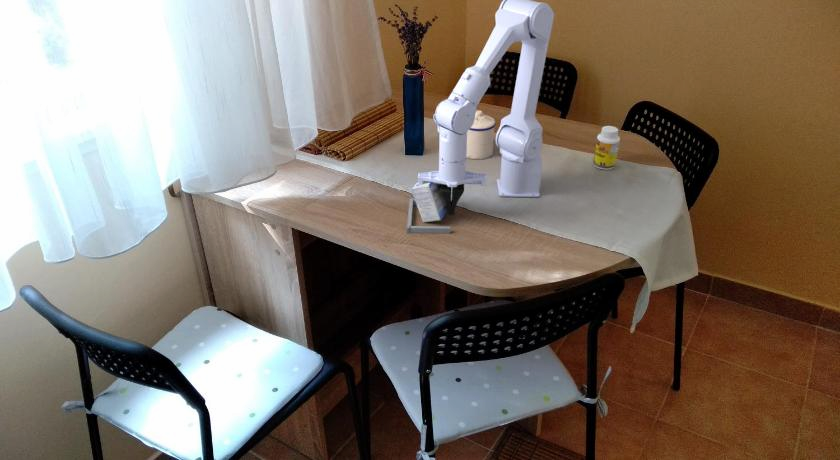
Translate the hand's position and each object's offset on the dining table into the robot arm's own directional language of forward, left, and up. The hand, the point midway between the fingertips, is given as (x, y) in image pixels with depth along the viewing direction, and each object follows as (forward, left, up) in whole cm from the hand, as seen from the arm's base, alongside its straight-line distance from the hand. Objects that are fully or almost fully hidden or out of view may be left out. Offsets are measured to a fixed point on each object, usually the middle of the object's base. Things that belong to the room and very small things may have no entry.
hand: (451, 212), depth 140 cm
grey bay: (+5, 0, -1) cm, 5 cm away
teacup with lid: (-6, -35, -2) cm, 35 cm away
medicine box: (+3, -1, -1) cm, 3 cm away
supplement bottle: (-39, -27, -2) cm, 48 cm away
